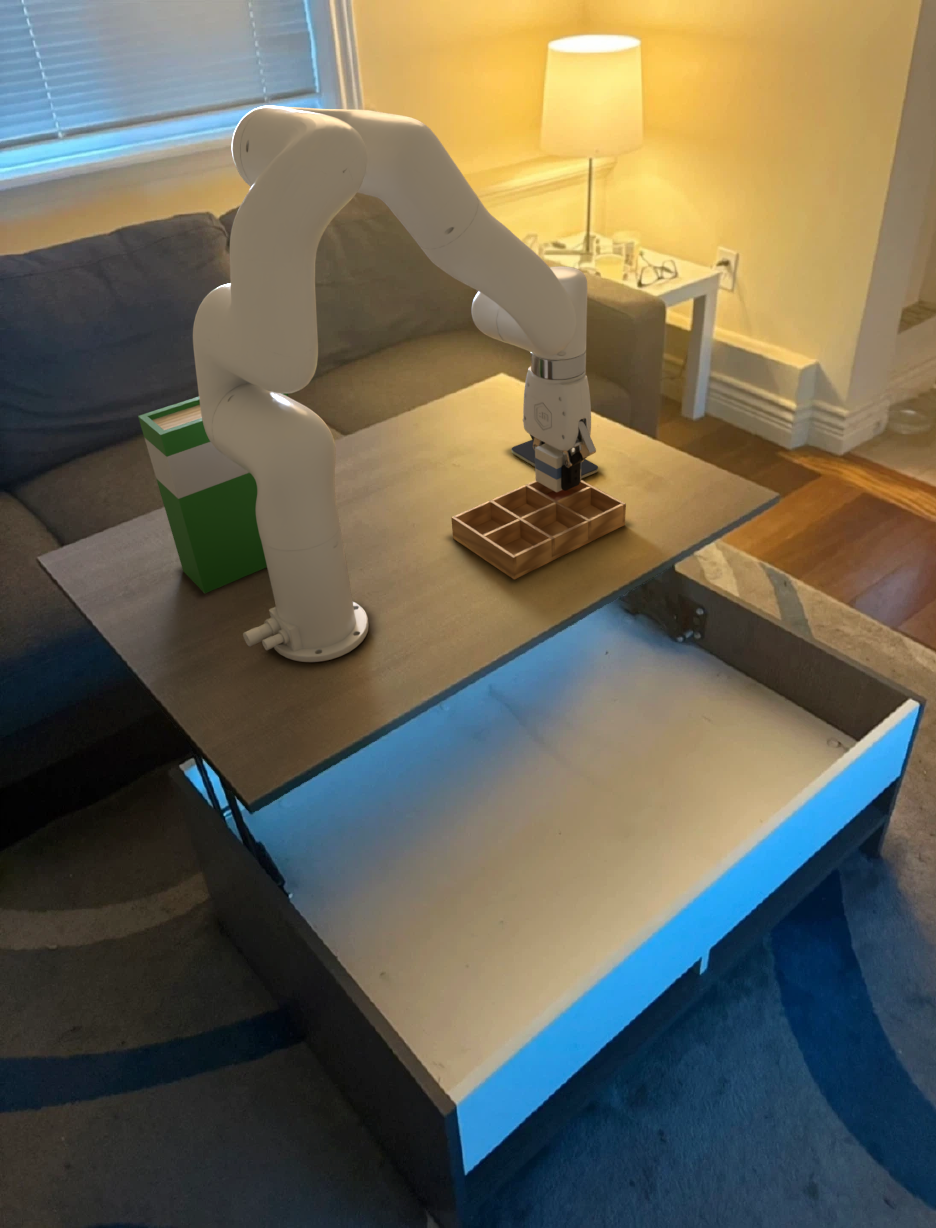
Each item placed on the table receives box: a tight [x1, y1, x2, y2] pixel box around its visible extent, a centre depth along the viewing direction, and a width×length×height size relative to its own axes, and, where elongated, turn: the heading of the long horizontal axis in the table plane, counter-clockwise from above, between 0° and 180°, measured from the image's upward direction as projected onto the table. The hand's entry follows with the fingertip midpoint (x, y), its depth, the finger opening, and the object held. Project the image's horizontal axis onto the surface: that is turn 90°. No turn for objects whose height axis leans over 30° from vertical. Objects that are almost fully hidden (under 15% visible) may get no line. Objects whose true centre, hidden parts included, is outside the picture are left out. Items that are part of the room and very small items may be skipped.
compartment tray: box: [450, 479, 627, 581], centre depth 137 cm, size 21×14×4 cm
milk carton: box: [534, 443, 582, 492], centre depth 139 cm, size 5×5×6 cm
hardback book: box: [137, 393, 289, 594], centre depth 130 cm, size 18×7×24 cm, turn 127°
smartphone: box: [511, 439, 599, 479], centre depth 155 cm, size 7×1×15 cm
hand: (558, 479), depth 141 cm, fingers closed on milk carton, 4 cm apart
